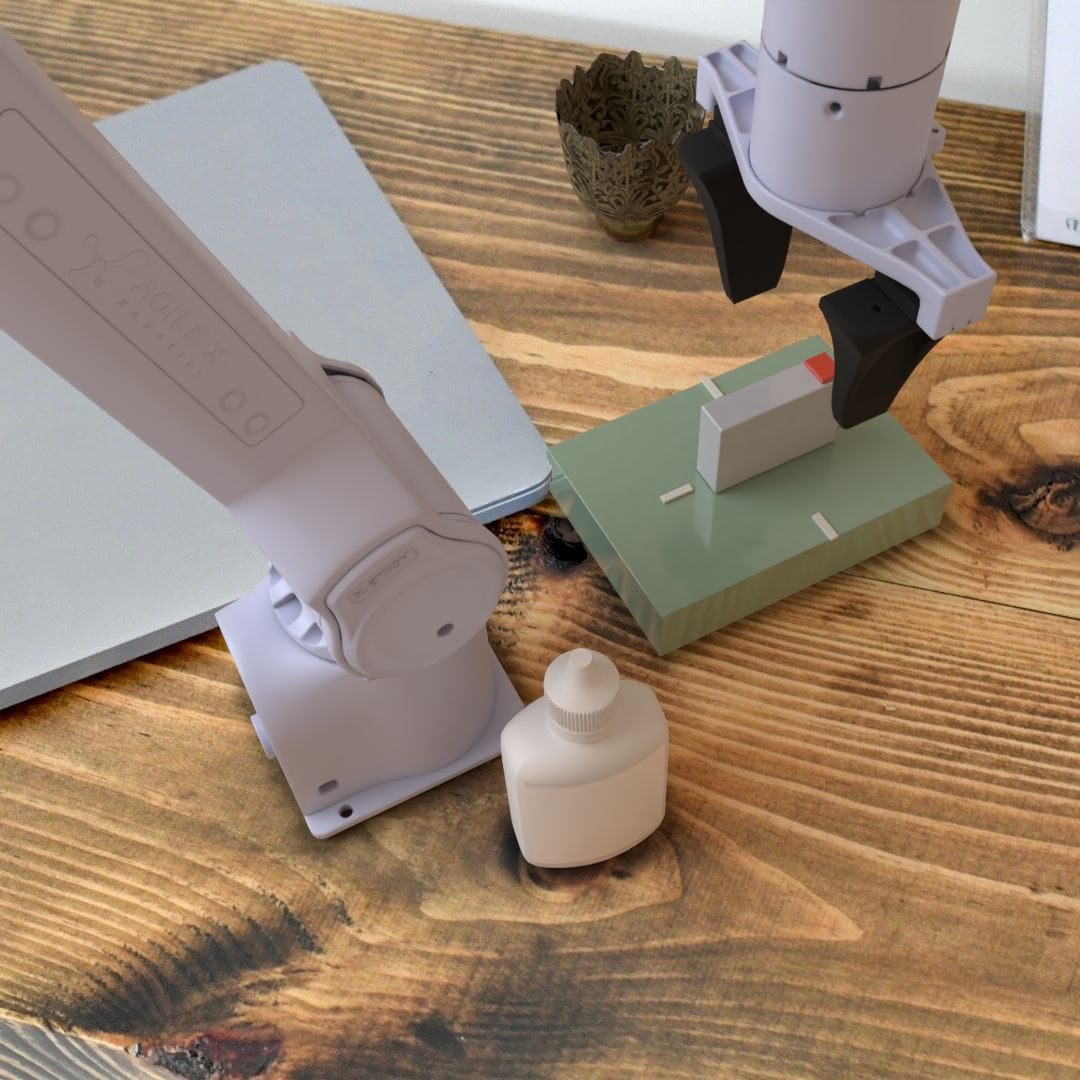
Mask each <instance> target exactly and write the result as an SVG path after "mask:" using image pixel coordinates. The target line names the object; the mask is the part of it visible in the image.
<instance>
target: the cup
mask: <svg viewBox="0 0 1080 1080" xmlns="http://www.w3.org/2000/svg"><path fill="white" fill-rule="evenodd" d="M642 58H643V55H642V53H640V52H639V51H636V50H633V49H632V50H631V51H629V52H628V53H627V54H626V56H625V57H624V59H623V58H621V57H620V56H618V55H617V54H613V53H607V52H601V53H599V54H598V55H597V56H596V57H595V59H594V60H593V61H592V63H591V64H590V66H589V68H588V69H587V70H585V69H586V67H584V66H580V65H578V64H575V65H574V67H573V71H572V82H571V81H570V79H568V78H561V79H560V81H559V83H558V87H556V88H555V92H554V93H555V107H554V109H555V110H554V113H555V116H556V121H557V126H558V127H557V128H558V134H559V140H560V145H561V151H562V155H563V160H564V166H565V169H566V173H567V176H568V180H569V182H570V185H571V188H572V190H573V192H574V193H575V195H576V197H577V199H578V200H579V201H580V202H581V204H582V205H583V206H584V207H585V208H586V209H588V210H589V211H590V212H591V213H593V214H594V217H595V220H596V222H597V225H598V226H599V227H600V229H601V231H602V232H603V233H605V234H606V235H607V236H609V237H610V238H613V239H615V240H619V241H622V242H623V241H624V242H635V241H640V240H644V239H647V238H648V237H650V236H652V235H653V234H654V233H655V232H657V230H658V229H659V228H660V226H661V224H662V223H663V220H665V219H664V218H665V215H666V213H668V212H669V211H670V210H672V209H673V208H674V207H675V206H676V205H677V204H678V203H679V202H680V201H681V199H682V198H683V197H684V194H685V193H686V192H687V190H688V187H689V185H690V183H691V179H690V178H689V176H688V174H687V172H686V170H685V169H684V167H683V166H682V164H681V163H680V161H679V159H678V158H677V148H678V144H679V142H680V141H681V139H682V138H684V137H685V136H687V135H689V134H691V133H693V132H696V131H699V130H701V129H704V124H705V119H706V114H707V111H706V110H705V109H704V108H703V107H702V106H701V105H700V104H699V103H698V102H697V101H696V89H697V71H698V68H686V69H683V67H682V62H681V61H680V60H679V58H678V57H677V56H675V55H671V56H670V57H668V58H667V59H665V60H664V62H663V65H662V67H661V69H659V68H658V67H657V66H656V64H651V65H650V66H644V63H643V59H642Z"/></svg>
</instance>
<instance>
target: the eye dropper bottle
mask: <svg viewBox="0 0 1080 1080" xmlns="http://www.w3.org/2000/svg"><path fill="white" fill-rule="evenodd" d="M542 686H543V695H542V696H540V697H538V698H537V699H535V700H534V701H532V702H531V703H529V704H528V705H526V706H525V708H524V709H523V710H521V711H520V712H519V713H518V714H517V715H516V716H514V717H513V718H512V719H511V720H510V721H509V722H508V723H507V724H506V726H505V728H504V730H503V731H502V733H501V753H502V755H501V761H502V766H503V773H504V780H505V788H506V793H507V800H508V807H509V813H510V820H511V824H512V827H513V831H514V834H515V837H516V840H517V844H518V846H519V849H520V851H521V854H522V856H523V858H524V860H526V862H527V863H529V864H531V865H533V866H536V867H540V868H550V869H551V868H552V869H553V868H554V869H564V868H567V869H568V868H577V867H583V866H589V865H593V864H596V863H597V864H598V863H600V862H604V861H607V860H609V859H612V858H614V857H616V856H617V857H618V856H619V855H621V854H623V853H625V852H627V851H629V850H630V849H631V848H633V847H636V846H637V845H638V844H640V843H641V842H642V841H644V840H645V839H646V838H648V837H649V836H650V835H651V834H653V833H654V832H655V831H656V829H658V828H659V827H660V826H661V824H662V822H663V820H664V818H665V814H666V799H667V787H668V786H667V785H668V783H667V782H668V768H669V767H668V765H669V747H670V746H669V742H670V739H669V738H670V734H669V733H670V732H669V724H668V721H667V718H666V715H665V713H664V710H663V708H662V706H661V703H660V700H659V699H658V697H657V695H656V693H655V691H654V690H653V689H652V688H651V687H650V686H649V685H647V684H644V683H642V682H639V681H634V680H630V679H629V680H627V679H621V676H620V672H619V669H617V666H616V665H615V663H614V662H613V660H612V659H611V660H610V657H607V655H604V654H603V653H602V652H600V651H597V650H593V649H588V648H584V647H577V648H574V649H571V650H568V651H565V652H564V653H561V654H560V655H558V656H557V657H555V658H554V660H552V662H551V663H550V664H549V665H548V666H547V669H546V672H544V676H543V685H542Z"/></svg>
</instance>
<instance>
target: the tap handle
mask: <svg viewBox="0 0 1080 1080" xmlns="http://www.w3.org/2000/svg"><path fill="white" fill-rule="evenodd" d="M834 366H835V362H834V361H833V360H832V359H831V357H830V356H829V355H828V354H827V353H826V352H823V353H821V354H819V355H816V356H814V357H812V358H809V359H807V360H805V362H803V363H801V364H798V365H796V366H794V367H791V368H789V369H787V370H784V371H782V372H779V373H777V374H775V375H772V376H770V377H768V378H765V379H763V380H761V381H758V382H756V383H754V384H751V385H749V386H747V387H744V388H742V389H739V390H737V391H735V392H732V393H730V394H728V395H725V396H723V397H721V398H718V399H716V400H714V401H711V402H709V403H707V404H704V405H702V406H701V415H700V429H699V442H698V455H697V470H698V471H699V472H700V474H701V475H702V476H703V478H704V479H705V480H706V482H707V483H708V484H709V485H710V487H711V488H712V489H713V491H714V492H715V493H718V492H720V491H722V490H725V489H727V488H729V487H731V486H734V485H736V484H738V483H740V482H743V481H745V480H747V479H749V478H752V477H754V476H756V475H758V474H761V473H763V472H765V471H767V470H770V469H772V468H774V467H776V466H779V465H781V464H783V463H785V462H788V461H790V460H792V459H794V458H797V457H799V456H801V455H803V454H806V453H808V452H810V451H812V450H815V449H817V448H819V447H821V446H824V445H826V444H828V443H830V442H833V441H834V440H835V438H836V433H837V428H838V423H837V422H836V420H835V419H834V417H833V413H832V406H831V397H832V387H833V378H834Z"/></svg>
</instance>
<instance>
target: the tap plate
mask: <svg viewBox="0 0 1080 1080" xmlns="http://www.w3.org/2000/svg"><path fill="white" fill-rule="evenodd" d="M823 352H826V353H827V354H828V355H829V356H830V357H831V359H832V360H833V361H834V349H832V348H831V347H830V345H828V344H827V342H826V341H825V340H824V339H823V338H822V337H821V336H820V335H819V334H818V333H816V334H814V335H812V336H808V337H807V338H805V339H802V340H800V341H797V342H795V343H793V344H790V345H787V346H785V347H783V348H781V349H778V350H775V351H773V352H771V353H769V354H766V355H764V356H762V357H759V358H757V359H754V360H752V361H750V362H747V363H745V364H742V365H740V366H738V367H735V368H732V369H730V370H728V371H726V372H723V373H721V374H718V375H716V376H714V377H712V378H710V377H709V375H706V376H705V375H704V376H703V377H701V378H700V383H697V384H695V385H693V386H690V387H687V388H685V389H683V390H681V391H679V392H676V393H674V394H671V395H668V396H666V397H664V398H661V399H659V400H657V401H654V402H652V403H649V404H646V405H644V406H642V407H640V408H638V409H636V410H635V409H634V410H633V411H630V412H628V413H626V414H624V415H621V416H619V417H616V418H613V419H612V420H609V421H607V422H605V423H602V424H599V425H597V426H595V427H593V428H592V427H591V428H590V429H588V430H585V431H582V432H581V433H579V434H576V435H573V436H571V437H568V438H566V439H564V440H562V441H559V442H557V443H554V444H552V445H550V446H548V447H547V446H546V448H545V449H546V460H547V459H548V460H549V464H550V466H551V465H552V482H551V480H550V481H549V480H548V490H549V492H550V494H551V496H552V497H553V498H554V500H555V502H556V503H557V504H558V506H559V507H560V509H561V510H562V512H563V513H564V515H565V516H566V518H567V519H568V521H569V522H570V524H571V525H572V527H573V528H574V530H575V532H576V533H577V534H578V536H579V537H580V539H581V541H582V542H583V544H584V545H585V546H586V548H587V550H588V551H589V553H590V554H591V556H592V557H593V558H594V560H595V561H596V564H598V566H599V567H600V569H601V571H602V572H603V574H604V575H605V577H606V578H607V579H608V581H609V583H610V584H611V585H612V587H613V588H614V590H615V592H616V593H617V595H618V596H619V598H620V599H621V600H622V602H623V604H624V605H625V607H626V608H627V610H628V611H629V613H630V614H631V616H632V617H633V619H634V621H636V623H637V625H638V626H639V628H640V629H641V631H642V632H643V633H644V636H646V639H647V640H648V641H649V643H650V644H651V645H652V647H653V649H654V651H656V653H657V655H658V656H659V657H663V656H665V655H667V654H669V653H672V652H674V651H676V650H678V649H680V648H682V647H685V646H686V645H689V644H691V643H693V642H695V641H697V640H699V639H701V638H704V637H705V636H708V635H709V634H712V633H714V632H717V631H718V630H720V629H723V628H724V627H727V626H729V625H731V624H732V623H733V624H734V623H735V622H738V621H740V620H741V619H744V618H745V617H748V616H750V615H752V614H754V613H756V612H758V611H761V610H763V609H765V608H767V607H768V606H771V605H773V604H775V603H777V602H780V601H781V600H784V599H786V598H788V597H790V596H792V595H794V594H796V593H798V592H800V591H802V590H805V589H806V588H809V587H811V586H813V585H815V584H818V583H820V582H822V581H824V580H826V579H828V578H830V577H832V576H835V575H837V574H838V573H841V572H842V571H845V570H848V569H849V568H851V567H853V566H855V565H857V564H860V563H862V562H864V561H867V560H868V559H870V558H872V557H875V556H876V555H879V554H881V553H883V552H885V551H887V550H889V549H891V548H894V547H895V546H898V545H901V544H903V543H904V542H906V541H908V540H910V539H913V538H915V537H917V536H919V535H920V534H923V533H926V532H927V531H929V530H932V529H933V528H935V527H938V526H940V524H941V521H942V518H943V514H944V512H945V509H946V506H947V503H948V500H949V496H950V495H951V491H952V488H953V485H954V481H953V480H952V479H951V477H950V476H949V475H948V474H947V473H946V472H945V471H944V470H943V469H942V468H941V467H940V465H938V463H936V461H935V460H934V459H933V458H932V457H931V456H930V454H928V453H927V451H926V450H925V449H924V448H923V447H922V446H921V445H920V444H919V443H918V442H917V441H916V439H915V438H914V437H913V436H912V435H911V434H910V433H909V432H908V430H906V429H905V428H904V426H903V425H902V424H901V423H900V422H899V421H898V420H897V419H896V417H894V416H893V415H892V413H891V412H890V411H889V410H888V411H887V412H886V413H884V414H881V415H879V416H877V417H875V418H872V419H870V420H868V421H866V422H863V423H861V424H859V425H856V426H854V427H852V428H850V429H847V430H846V429H843V428H842V427H841V426H840V425H839V424H838V428H837V433H836V438H835V440H834V441H833V442H830V443H828V444H826V445H824V446H821V447H819V448H817V449H815V450H812V451H810V452H808V453H806V454H803V455H801V456H799V457H797V458H794V459H792V460H790V461H788V462H785V463H783V464H781V465H779V466H776V467H774V468H772V469H770V470H767V471H765V472H763V473H761V474H758V475H756V476H754V477H752V478H749V479H747V480H745V481H743V482H740V483H738V484H736V485H734V486H731V487H729V488H727V489H725V490H722V491H720V492H718V493H715V492H714V491H713V489H712V488H711V487H710V485H709V484H708V483H707V482H706V480H705V479H704V478H703V476H702V475H701V474H700V472H699V471H698V470H697V455H698V442H699V429H700V415H701V406H702V405H704V404H707V403H709V402H711V401H714V400H716V399H718V398H721V397H723V396H725V395H728V394H730V393H732V392H735V391H737V390H739V389H742V388H744V387H747V386H749V385H751V384H754V383H756V382H758V381H761V380H763V379H765V378H768V377H770V376H772V375H775V374H777V373H779V372H782V371H784V370H787V369H789V368H791V367H794V366H796V365H798V364H801V363H803V362H805V360H807V359H809V358H812V357H814V356H816V355H819V354H821V353H823Z"/></svg>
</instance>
